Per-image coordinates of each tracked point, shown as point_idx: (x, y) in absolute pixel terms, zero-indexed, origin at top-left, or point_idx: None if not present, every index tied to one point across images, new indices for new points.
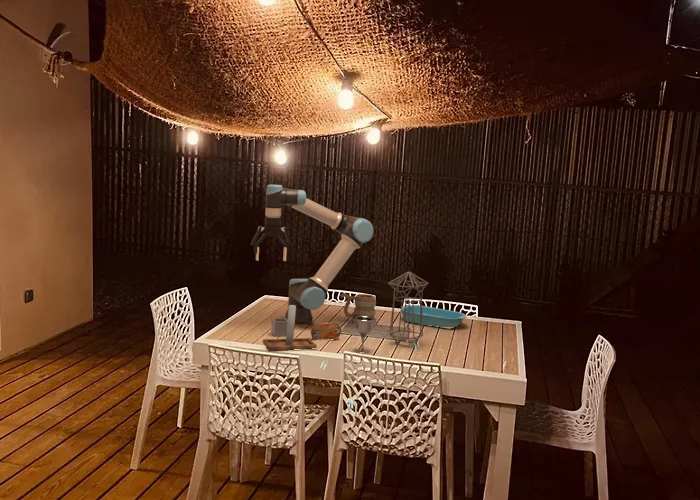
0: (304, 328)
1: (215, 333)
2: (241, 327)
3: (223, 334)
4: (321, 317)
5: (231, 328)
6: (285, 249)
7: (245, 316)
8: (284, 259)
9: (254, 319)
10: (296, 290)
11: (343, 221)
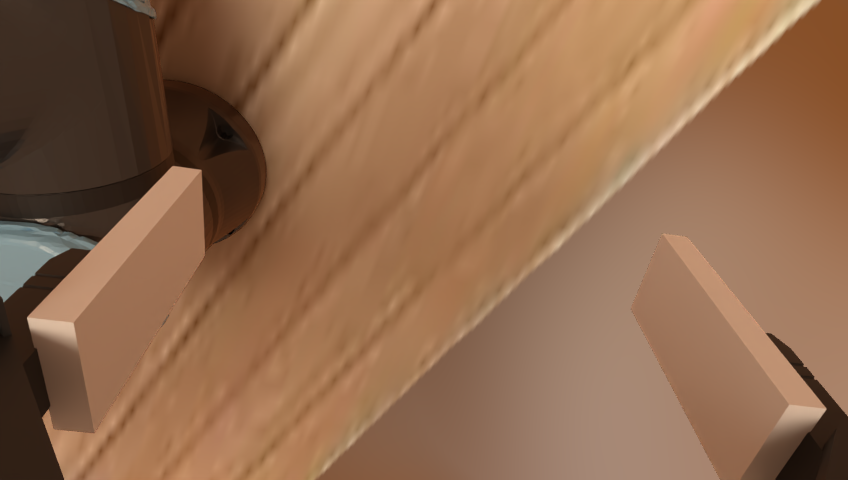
0: (181, 13)
1: (740, 39)
2: (539, 131)
3: (712, 4)
4: None
5: (601, 124)
6: (87, 290)
7: (425, 327)
8: (192, 189)
9: (403, 268)
10: (138, 153)
11: None
